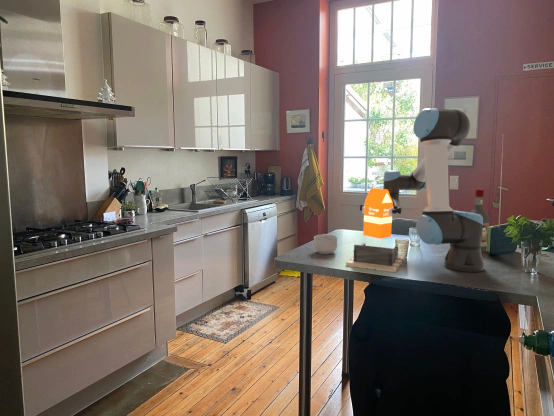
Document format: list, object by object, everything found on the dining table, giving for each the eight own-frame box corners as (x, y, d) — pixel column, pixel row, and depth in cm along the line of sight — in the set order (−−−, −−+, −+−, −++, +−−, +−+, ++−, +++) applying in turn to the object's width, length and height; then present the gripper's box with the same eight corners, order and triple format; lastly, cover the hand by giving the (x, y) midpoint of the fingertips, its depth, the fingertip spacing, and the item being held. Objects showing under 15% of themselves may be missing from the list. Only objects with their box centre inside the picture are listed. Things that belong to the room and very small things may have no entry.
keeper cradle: (395, 272, 159) (396, 251, 158) (346, 265, 168) (346, 245, 167) (404, 259, 179) (405, 241, 178) (359, 254, 188) (360, 236, 187)
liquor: (460, 248, 204) (465, 188, 200) (476, 247, 206) (480, 188, 202) (474, 252, 195) (479, 190, 191) (489, 251, 197) (495, 190, 194)
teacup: (335, 256, 184) (336, 239, 183) (312, 255, 186) (312, 237, 185) (337, 249, 197) (338, 233, 196) (315, 248, 199) (315, 232, 198)
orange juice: (374, 233, 178) (376, 187, 176) (391, 236, 171) (393, 189, 169) (362, 235, 173) (364, 188, 171) (379, 238, 167) (382, 190, 164)
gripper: (411, 215, 183) (404, 222, 163) (361, 211, 192) (348, 218, 172) (412, 198, 182) (405, 204, 162) (362, 195, 191) (349, 200, 171)
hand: (376, 211), depth 167 cm, fingers closed on orange juice, 10 cm apart
